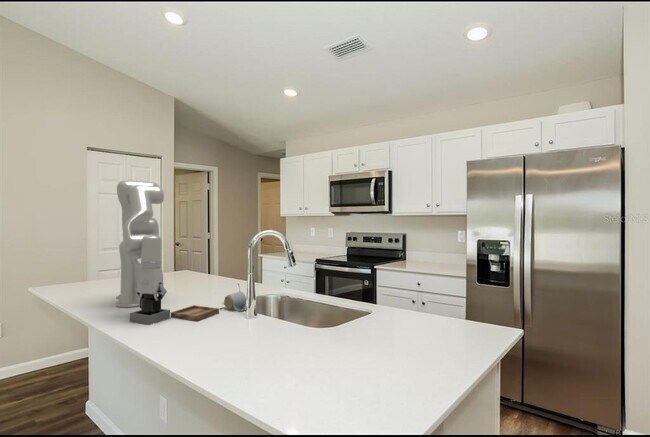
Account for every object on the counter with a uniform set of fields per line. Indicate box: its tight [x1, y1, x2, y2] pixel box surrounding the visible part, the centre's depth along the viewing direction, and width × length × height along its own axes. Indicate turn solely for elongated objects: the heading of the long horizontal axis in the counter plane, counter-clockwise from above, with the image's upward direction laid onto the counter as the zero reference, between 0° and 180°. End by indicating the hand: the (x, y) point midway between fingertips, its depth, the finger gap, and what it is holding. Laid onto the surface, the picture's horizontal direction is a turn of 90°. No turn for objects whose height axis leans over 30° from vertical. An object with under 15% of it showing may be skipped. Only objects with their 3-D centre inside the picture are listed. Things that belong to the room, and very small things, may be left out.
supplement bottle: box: [140, 294, 159, 315], centre depth 147 cm, size 7×7×12 cm
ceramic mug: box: [224, 291, 247, 313], centre depth 166 cm, size 11×8×8 cm
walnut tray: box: [170, 305, 220, 322], centre depth 155 cm, size 14×14×2 cm
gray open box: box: [129, 308, 171, 326], centre depth 147 cm, size 11×11×4 cm
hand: (150, 308), depth 147 cm, fingers closed on supplement bottle, 6 cm apart
